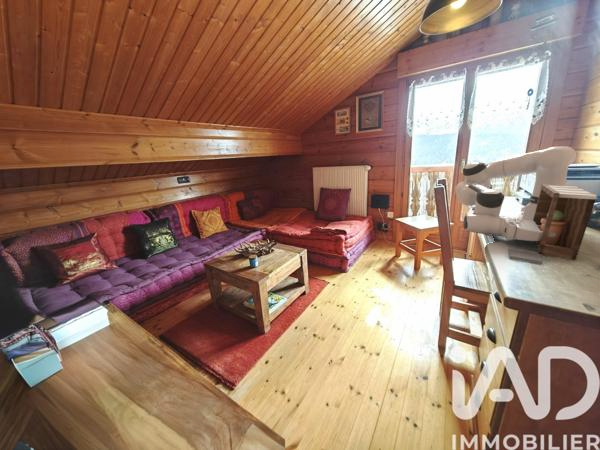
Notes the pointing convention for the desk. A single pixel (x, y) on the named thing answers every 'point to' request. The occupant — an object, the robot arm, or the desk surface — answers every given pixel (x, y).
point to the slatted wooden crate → (564, 218)
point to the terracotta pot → (553, 228)
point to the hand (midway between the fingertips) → (553, 232)
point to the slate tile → (524, 255)
